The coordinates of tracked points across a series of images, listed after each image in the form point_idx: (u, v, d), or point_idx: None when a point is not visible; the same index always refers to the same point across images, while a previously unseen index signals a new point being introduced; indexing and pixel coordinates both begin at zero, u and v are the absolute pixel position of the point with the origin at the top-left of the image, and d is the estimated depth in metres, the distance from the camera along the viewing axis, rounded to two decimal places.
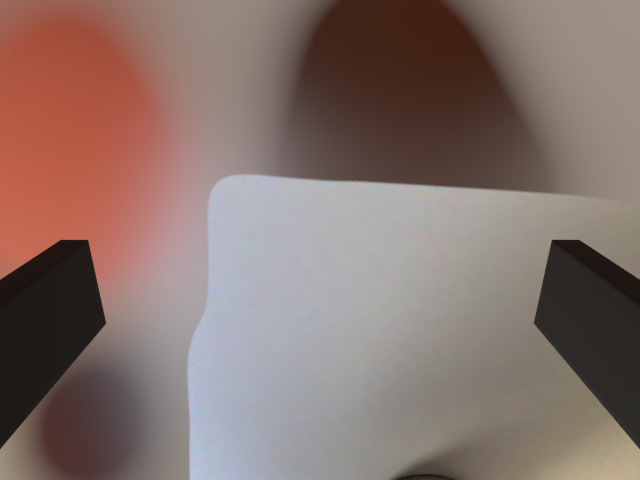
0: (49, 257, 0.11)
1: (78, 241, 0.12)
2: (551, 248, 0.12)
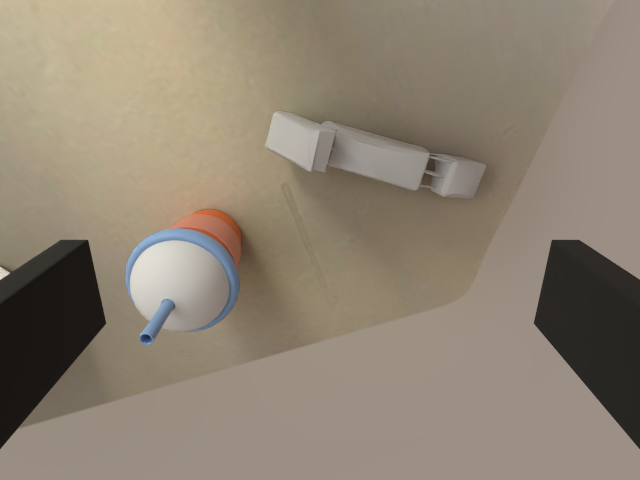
0: (49, 257, 0.11)
1: (78, 241, 0.12)
2: (550, 248, 0.12)
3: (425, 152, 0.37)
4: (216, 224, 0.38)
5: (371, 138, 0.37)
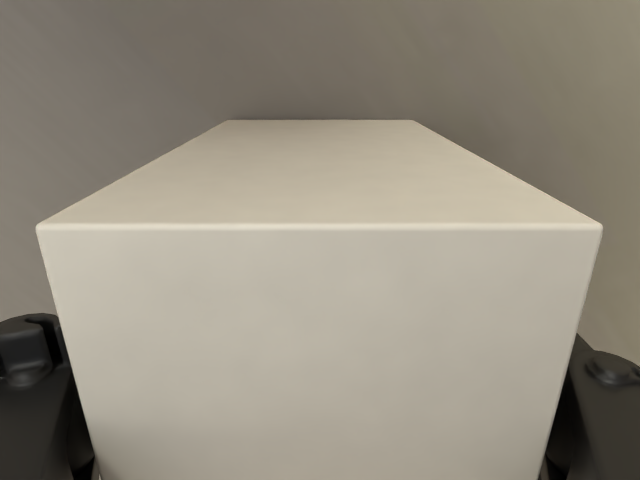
0: None
1: None
2: None
3: None
4: None
5: None
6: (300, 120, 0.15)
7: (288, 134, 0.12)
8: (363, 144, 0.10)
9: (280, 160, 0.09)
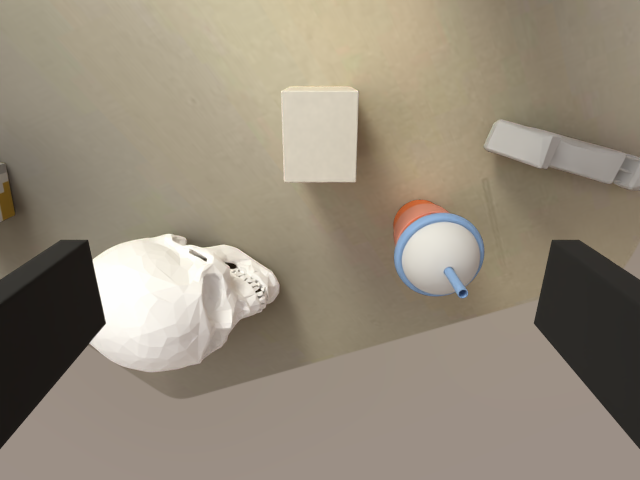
0: (49, 257, 0.11)
1: (78, 241, 0.12)
2: (550, 248, 0.12)
3: (623, 152, 0.45)
4: None
5: (577, 141, 0.46)
6: (313, 86, 0.47)
7: (311, 87, 0.44)
8: None
9: None
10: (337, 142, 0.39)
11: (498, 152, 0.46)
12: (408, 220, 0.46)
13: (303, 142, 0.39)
